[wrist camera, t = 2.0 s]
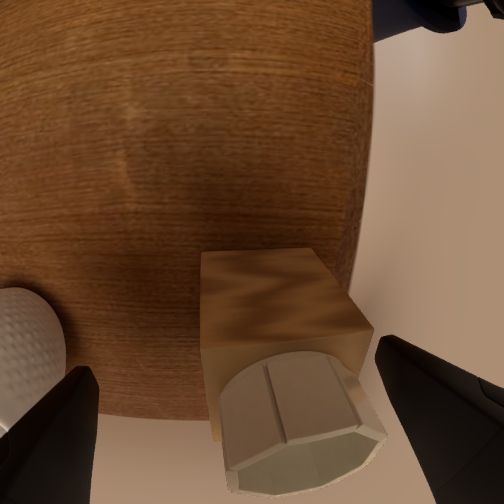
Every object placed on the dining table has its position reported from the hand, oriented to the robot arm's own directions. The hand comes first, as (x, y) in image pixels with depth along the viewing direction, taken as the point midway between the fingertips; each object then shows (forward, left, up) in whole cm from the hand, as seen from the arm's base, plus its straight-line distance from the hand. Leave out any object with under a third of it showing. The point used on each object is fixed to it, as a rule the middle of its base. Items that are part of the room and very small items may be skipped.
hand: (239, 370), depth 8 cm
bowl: (-3, +6, -3) cm, 7 cm away
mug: (+19, +8, -14) cm, 25 cm away
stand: (-3, +6, -13) cm, 15 cm away
